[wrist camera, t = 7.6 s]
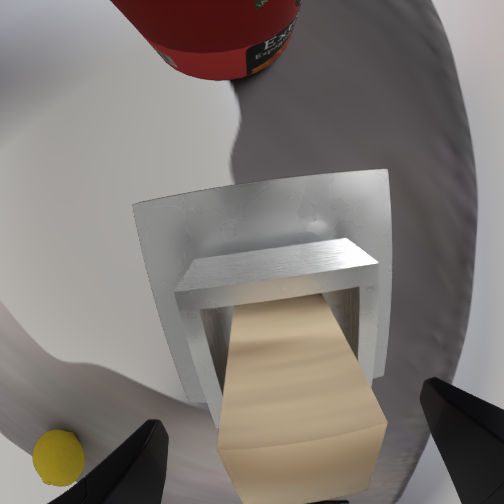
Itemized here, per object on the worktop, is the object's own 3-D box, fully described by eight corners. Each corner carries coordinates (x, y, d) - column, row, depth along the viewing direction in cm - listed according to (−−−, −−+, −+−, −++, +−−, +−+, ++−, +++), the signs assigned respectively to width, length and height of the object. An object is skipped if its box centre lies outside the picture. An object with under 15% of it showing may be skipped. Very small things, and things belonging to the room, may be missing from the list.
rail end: (320, 349, 15) (367, 489, 6) (248, 360, 15) (246, 509, 7) (316, 283, 14) (387, 422, 5) (235, 295, 14) (217, 450, 6)
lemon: (102, 451, 23) (80, 504, 15) (67, 443, 23) (43, 489, 15) (79, 419, 21) (48, 474, 14) (44, 411, 22) (12, 459, 14)
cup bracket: (377, 366, 19) (411, 426, 13) (192, 392, 20) (175, 460, 13) (378, 168, 15) (443, 171, 9) (140, 202, 16) (81, 221, 10)
